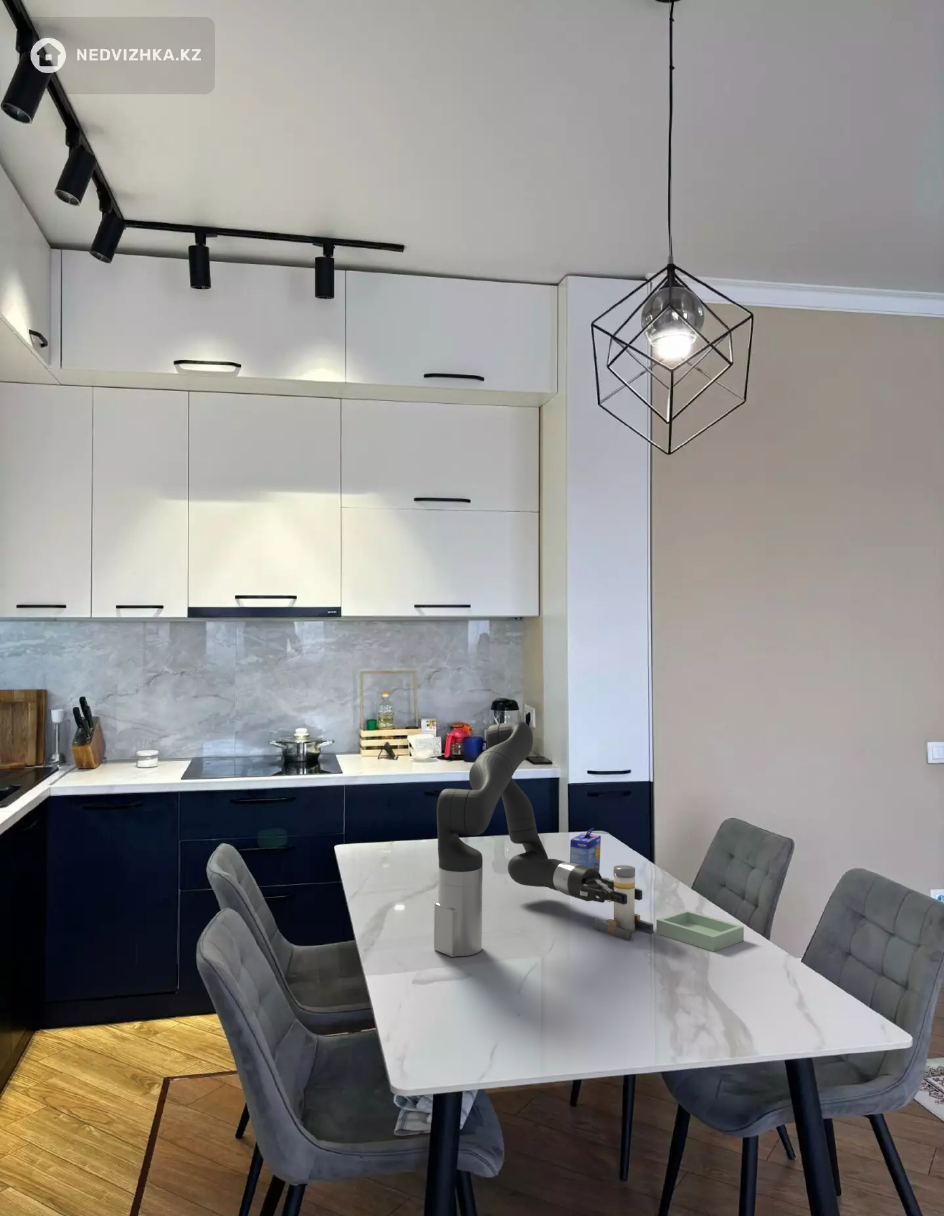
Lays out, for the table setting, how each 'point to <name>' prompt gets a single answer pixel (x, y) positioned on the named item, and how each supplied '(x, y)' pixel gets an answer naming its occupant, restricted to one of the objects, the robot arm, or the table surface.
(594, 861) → the ink cartridge box
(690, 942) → the tray
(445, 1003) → the table surface
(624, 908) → the cylinder
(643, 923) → the clip rails
